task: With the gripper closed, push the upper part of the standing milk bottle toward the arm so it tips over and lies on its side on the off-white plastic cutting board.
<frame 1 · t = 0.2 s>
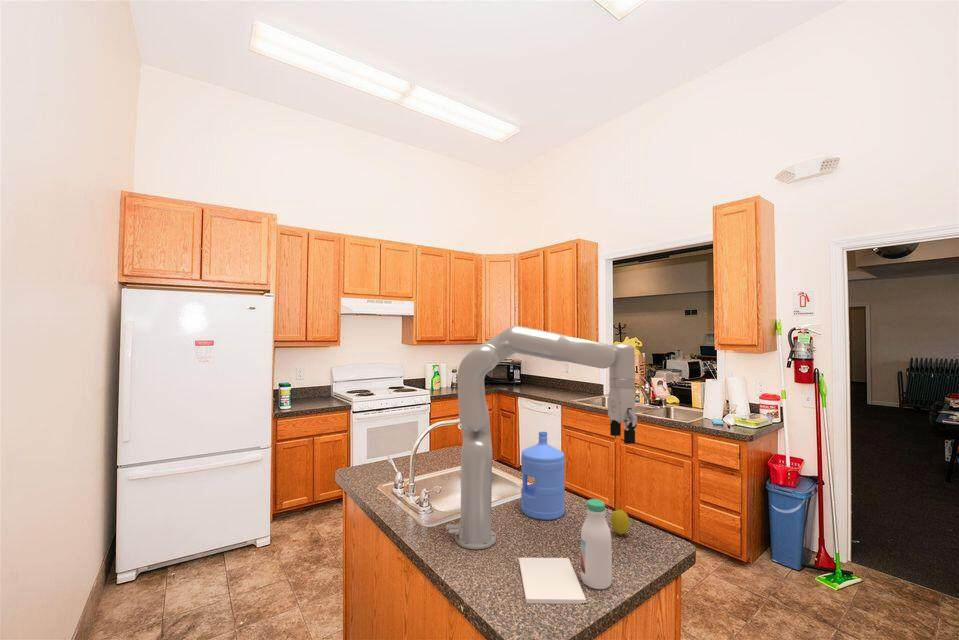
hand: (622, 439, 126), 31 cm above the counter, tool pointing down, fingers open, 9 cm apart
cutting board: (549, 580, 104), on the counter
lemon: (620, 535, 129), on the counter
water jug: (542, 511, 146), on the counter
milk bottle: (596, 582, 104), on the counter
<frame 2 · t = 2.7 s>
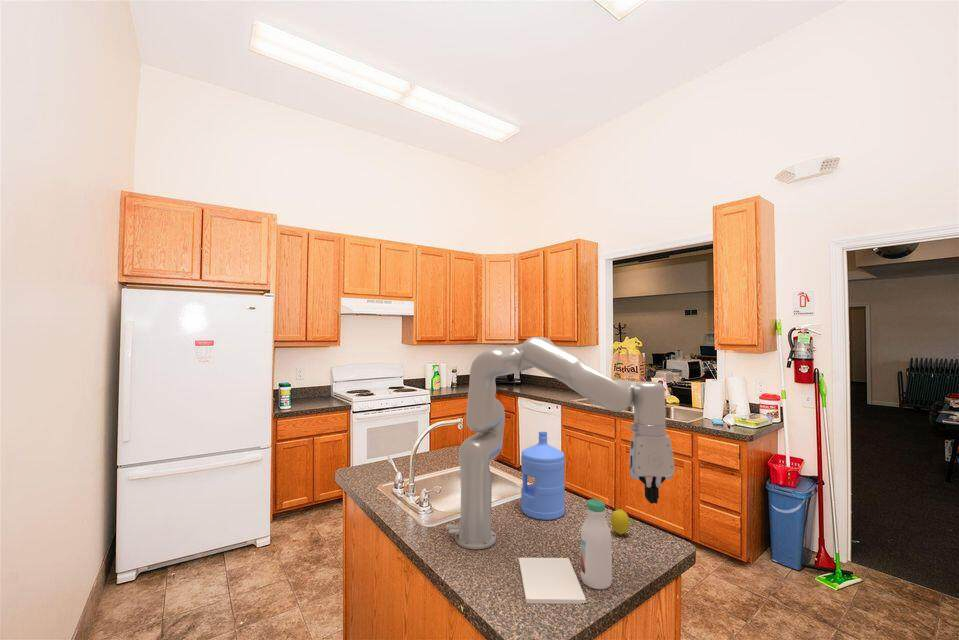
hand: (651, 501, 105), 20 cm above the counter, tool pointing down, fingers closed
nothing on the counter moved.
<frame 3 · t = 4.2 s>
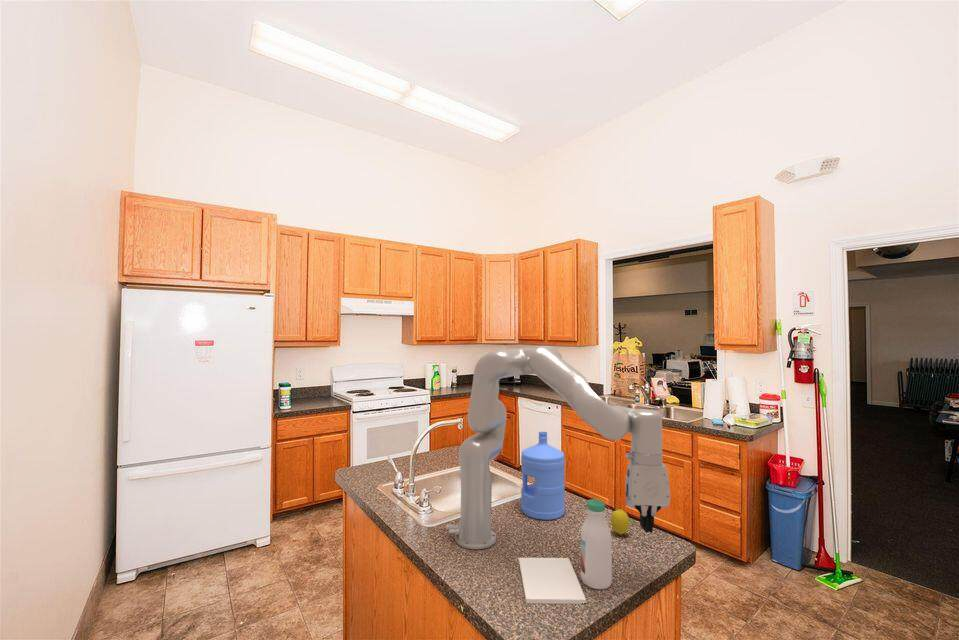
hand: (647, 529, 105), 13 cm above the counter, tool pointing down, fingers closed
nothing on the counter moved.
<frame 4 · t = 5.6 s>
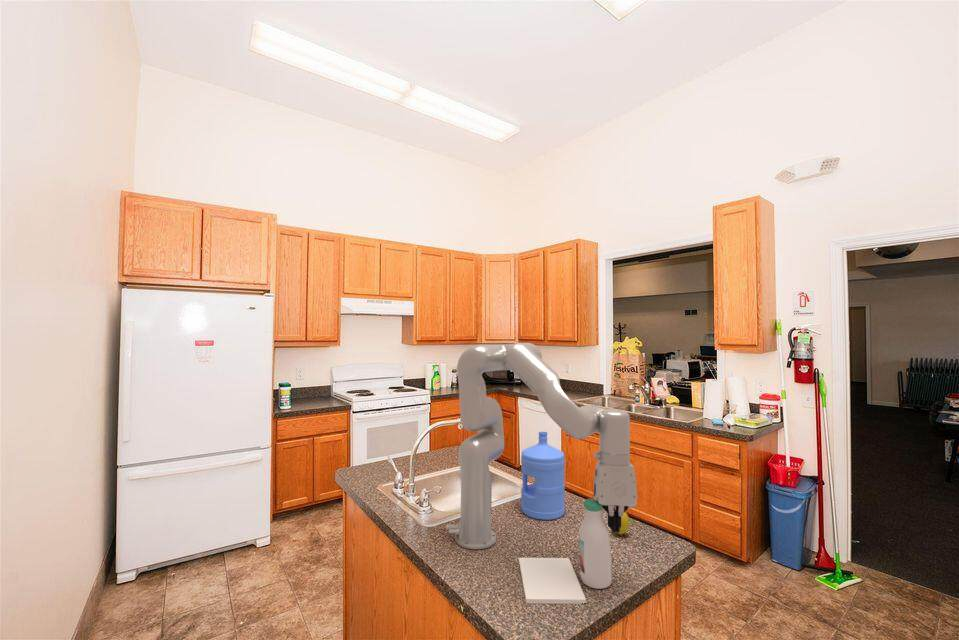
hand: (614, 529, 105), 13 cm above the counter, tool pointing down, fingers closed
nothing on the counter moved.
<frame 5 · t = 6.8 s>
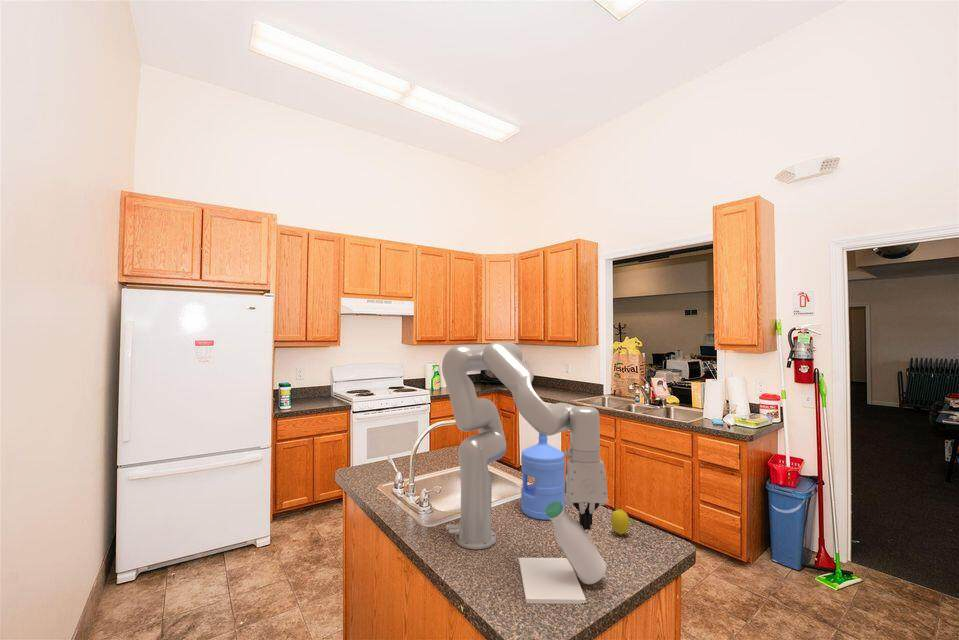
hand: (585, 527, 105), 14 cm above the counter, tool pointing down, fingers closed
milk bottle: (594, 573, 104), point 2 cm above the counter
everything else where it was.
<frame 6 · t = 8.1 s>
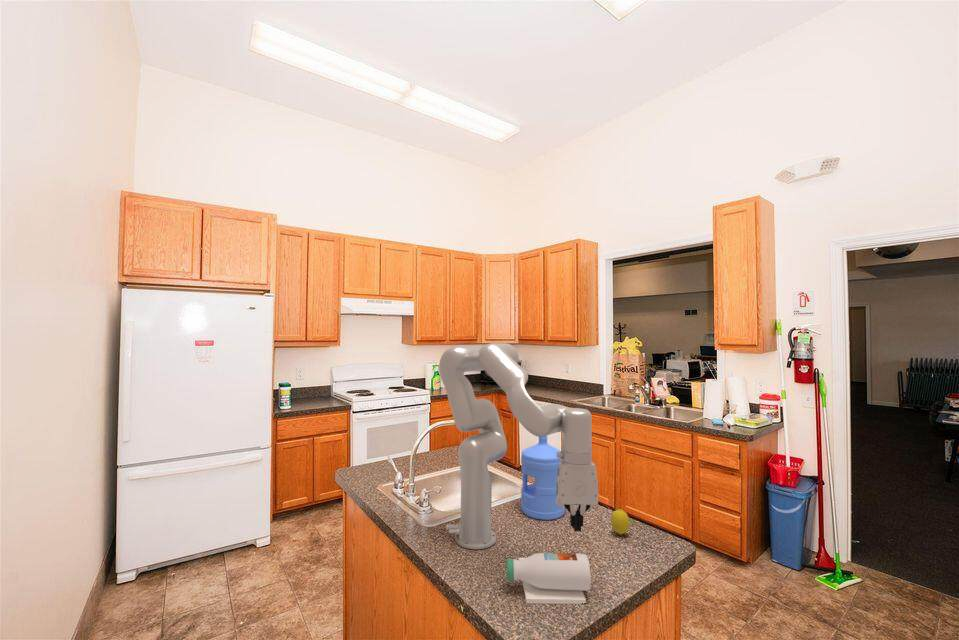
hand: (576, 528, 105), 13 cm above the counter, tool pointing down, fingers closed
milk bottle: (589, 571, 100), point 5 cm above the counter, touching cutting board
everything else where it was.
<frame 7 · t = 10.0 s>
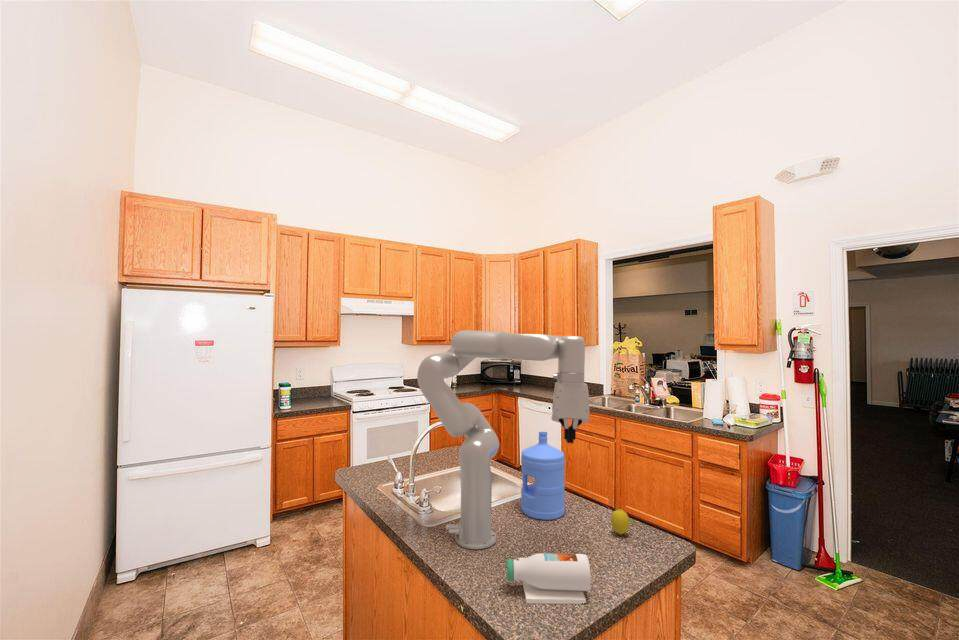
hand: (569, 441, 118), 32 cm above the counter, tool pointing down, fingers closed
nothing on the counter moved.
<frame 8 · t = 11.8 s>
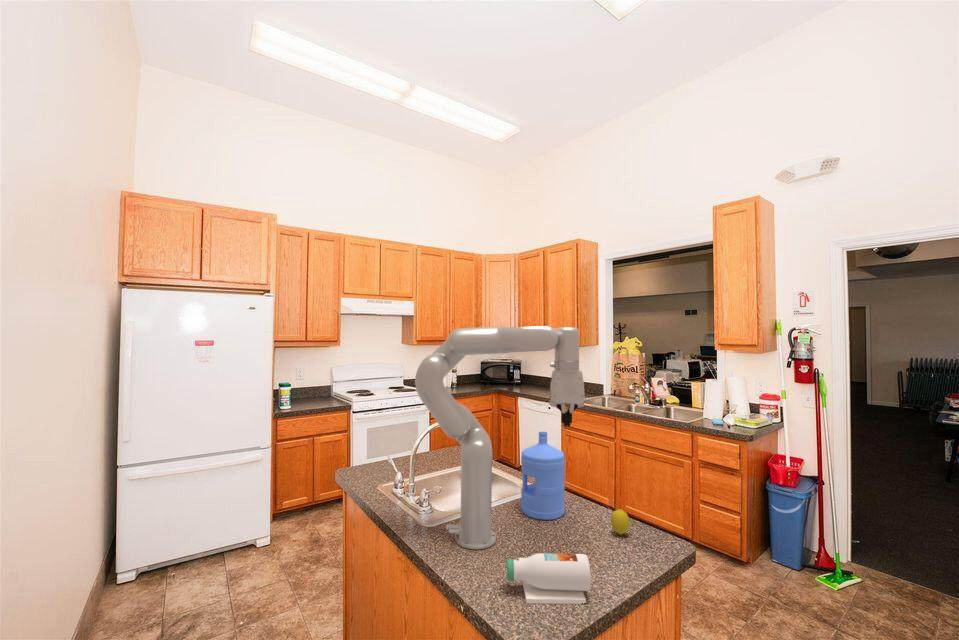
hand: (566, 425, 127), 35 cm above the counter, tool pointing down, fingers closed
nothing on the counter moved.
at the end: milk bottle tilted 91°; milk bottle touching cutting board; milk bottle inside the target area (6.9 cm from its centre), point 4.9 cm above the counter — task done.
